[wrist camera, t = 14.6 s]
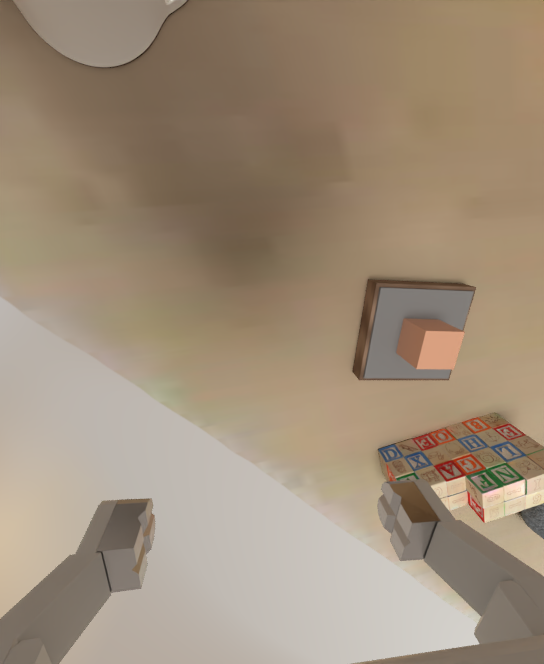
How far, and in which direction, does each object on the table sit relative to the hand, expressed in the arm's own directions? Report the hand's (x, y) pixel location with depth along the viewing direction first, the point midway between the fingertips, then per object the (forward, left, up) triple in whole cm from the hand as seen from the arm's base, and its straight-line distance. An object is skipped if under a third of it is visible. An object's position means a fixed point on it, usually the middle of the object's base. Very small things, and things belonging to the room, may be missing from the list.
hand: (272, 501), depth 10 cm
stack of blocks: (+25, +34, -31) cm, 52 cm away
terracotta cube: (+4, +23, -28) cm, 36 cm away
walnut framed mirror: (+4, +23, -31) cm, 39 cm away
